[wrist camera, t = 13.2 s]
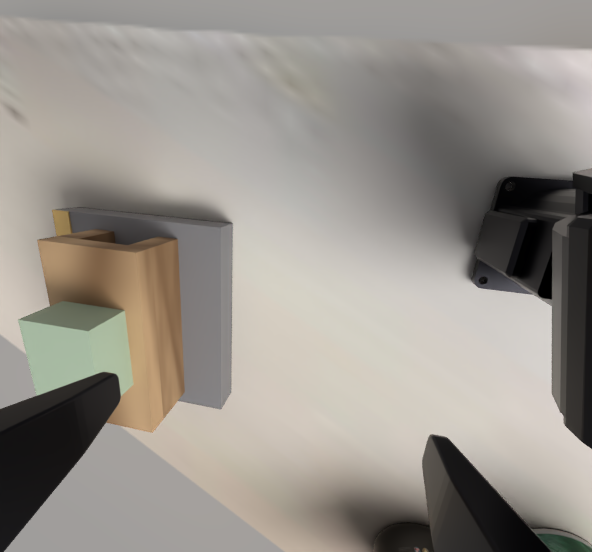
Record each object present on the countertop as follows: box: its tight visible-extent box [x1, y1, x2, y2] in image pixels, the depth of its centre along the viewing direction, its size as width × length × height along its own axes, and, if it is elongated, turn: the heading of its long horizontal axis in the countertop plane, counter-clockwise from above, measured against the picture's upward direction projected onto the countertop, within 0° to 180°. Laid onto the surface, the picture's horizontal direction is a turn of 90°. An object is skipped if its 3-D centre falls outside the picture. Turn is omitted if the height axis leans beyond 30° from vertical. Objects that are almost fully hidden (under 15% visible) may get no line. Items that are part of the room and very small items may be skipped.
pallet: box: [37, 229, 185, 433], centre depth 20 cm, size 6×12×4 cm, turn 175°
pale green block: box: [18, 301, 134, 396], centre depth 17 cm, size 4×5×2 cm
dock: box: [52, 207, 233, 409], centre depth 23 cm, size 12×14×2 cm
